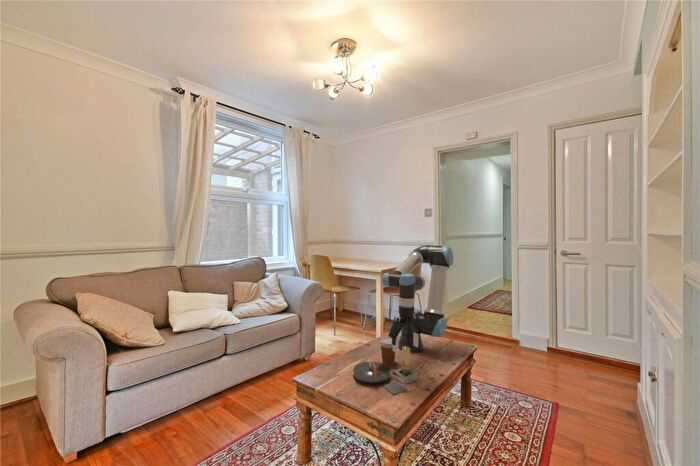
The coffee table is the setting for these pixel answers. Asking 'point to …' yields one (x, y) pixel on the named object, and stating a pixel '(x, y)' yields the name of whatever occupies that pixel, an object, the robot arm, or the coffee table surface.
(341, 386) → the coffee table surface
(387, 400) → the coffee table surface
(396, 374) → the grey square frame
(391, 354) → the disposable coffee cup
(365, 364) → the compass
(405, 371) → the yellow tall cylinder
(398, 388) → the rest pad
